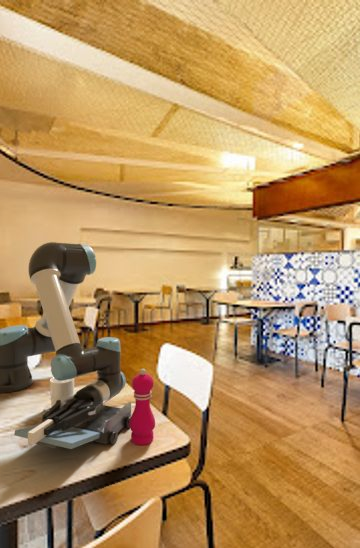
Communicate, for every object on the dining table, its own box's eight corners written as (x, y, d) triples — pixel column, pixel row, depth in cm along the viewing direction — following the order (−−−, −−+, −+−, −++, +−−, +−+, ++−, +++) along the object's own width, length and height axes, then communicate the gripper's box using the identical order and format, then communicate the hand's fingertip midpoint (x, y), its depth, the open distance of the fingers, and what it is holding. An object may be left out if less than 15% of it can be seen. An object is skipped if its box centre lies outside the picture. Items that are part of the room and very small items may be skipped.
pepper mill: (131, 448, 83) (131, 374, 82) (127, 434, 89) (128, 365, 89) (157, 444, 85) (158, 372, 84) (152, 430, 92) (153, 363, 91)
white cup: (66, 414, 101) (66, 384, 101) (44, 411, 103) (44, 381, 102) (78, 403, 109) (78, 375, 108) (58, 401, 110) (58, 373, 110)
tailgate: (46, 430, 87) (13, 439, 76) (48, 421, 88) (15, 430, 77) (98, 441, 82) (70, 453, 71) (100, 432, 82) (72, 443, 71)
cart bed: (42, 432, 90) (42, 410, 89) (74, 411, 103) (74, 392, 103) (110, 448, 82) (110, 424, 82) (134, 423, 96) (134, 402, 95)
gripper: (110, 413, 91) (53, 460, 69) (73, 406, 95) (8, 449, 73) (110, 388, 91) (53, 427, 68) (73, 382, 95) (8, 417, 73)
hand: (30, 438), depth 71 cm, fingers closed
